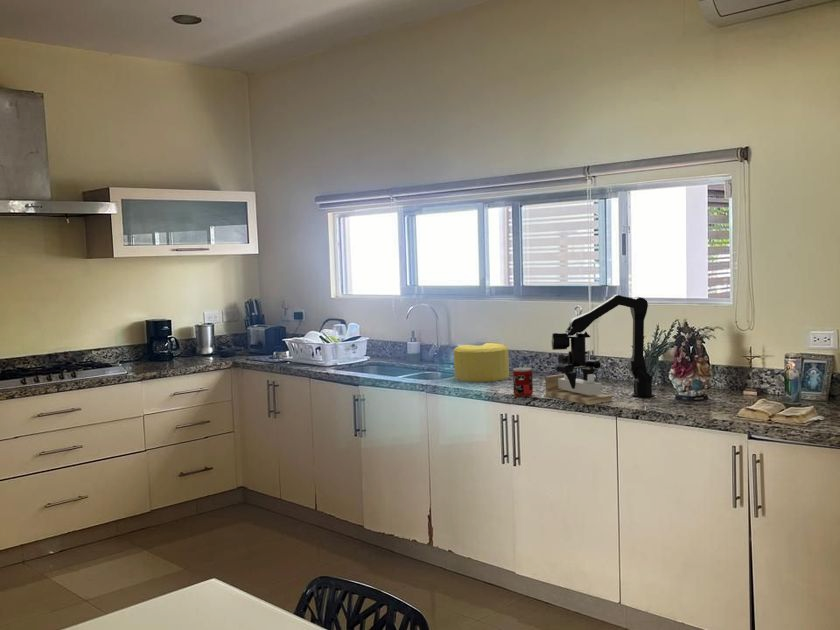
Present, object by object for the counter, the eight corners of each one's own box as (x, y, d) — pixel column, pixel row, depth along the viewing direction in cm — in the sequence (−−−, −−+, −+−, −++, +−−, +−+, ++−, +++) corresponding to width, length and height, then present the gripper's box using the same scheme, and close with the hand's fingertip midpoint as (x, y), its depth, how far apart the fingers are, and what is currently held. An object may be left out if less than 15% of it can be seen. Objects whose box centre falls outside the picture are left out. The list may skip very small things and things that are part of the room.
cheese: (472, 371, 397) (471, 341, 396) (519, 374, 382) (518, 343, 380) (444, 379, 376) (443, 348, 374) (492, 383, 361) (490, 350, 359)
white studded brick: (601, 393, 309) (600, 374, 308) (589, 395, 306) (588, 376, 305) (570, 386, 327) (569, 368, 326) (558, 388, 324) (557, 370, 323)
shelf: (612, 400, 309) (611, 380, 309) (589, 405, 303) (588, 384, 302) (568, 392, 331) (567, 373, 330) (545, 395, 325) (545, 376, 324)
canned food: (510, 394, 332) (509, 368, 331) (526, 392, 335) (526, 366, 334) (519, 397, 325) (518, 370, 324) (536, 395, 328) (535, 368, 327)
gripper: (581, 344, 326) (582, 382, 328) (546, 349, 317) (548, 388, 318) (601, 347, 317) (602, 385, 318) (565, 352, 307) (566, 391, 309)
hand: (579, 387), depth 316 cm, fingers open, 6 cm apart
